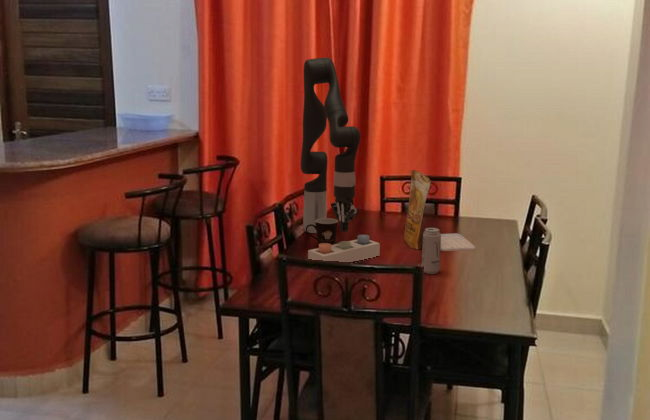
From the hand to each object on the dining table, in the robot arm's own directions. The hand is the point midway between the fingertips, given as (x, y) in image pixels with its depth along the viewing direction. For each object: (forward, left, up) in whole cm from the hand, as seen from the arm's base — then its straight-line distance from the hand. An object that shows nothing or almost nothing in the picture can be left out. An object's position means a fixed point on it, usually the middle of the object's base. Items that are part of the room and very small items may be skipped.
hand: (344, 231), depth 242 cm
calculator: (+9, +47, -12) cm, 50 cm away
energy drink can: (+28, +15, -11) cm, 34 cm away
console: (0, 0, -11) cm, 11 cm away
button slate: (0, +9, -7) cm, 11 cm away
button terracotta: (0, -9, -6) cm, 11 cm away
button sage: (0, 0, -7) cm, 7 cm away
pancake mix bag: (+1, +35, -11) cm, 37 cm away
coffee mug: (-19, +5, -11) cm, 23 cm away
